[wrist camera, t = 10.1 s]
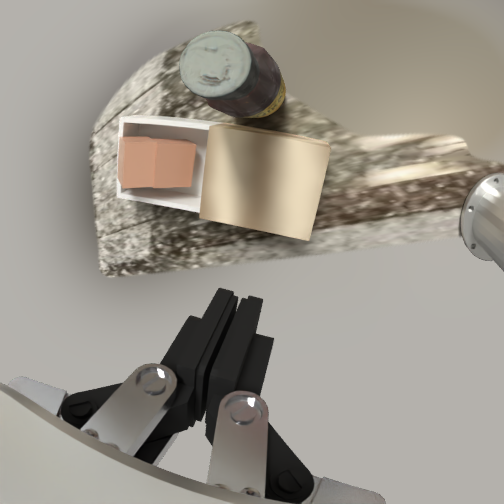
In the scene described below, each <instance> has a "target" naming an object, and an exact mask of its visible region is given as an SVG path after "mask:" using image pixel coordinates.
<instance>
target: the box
mask: <svg viewBox="0 0 504 504" xmlns="http://www.w3.org/2000/svg"><path fill="white" fill-rule="evenodd" d="M221 123H222V122H214V121H206V120H198V119H188V118H178V117H166V116H152V115H132V116H125V117H120V122H119V137H132V136H148V137H150V138H151V139H187V140H189V141H191V142H192V143H194V144H196V152H195V160H194V167H193V175H192V183H191V187H172V188H153V187H140V188H122V186H121V184H120V182H119V180H118V178H117V198H123V199H129V200H134V201H140V202H145V203H151V204H156V205H162V206H167V207H172V208H177V209H183V210H188V211H193V212H198V213H200V203H201V193H202V184H203V175H204V166H205V157H206V149H207V141H208V133H209V126H212V125H216V124H221ZM119 137H118V152H119ZM117 172H118V158H117Z"/></svg>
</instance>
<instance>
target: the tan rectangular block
mask: <svg viewBox="0 0 504 504" xmlns="http://www.w3.org/2000/svg"><path fill="white" fill-rule="evenodd" d="M330 151H331V147H330V146H329V144H328V143H327V142H325V141H321V140H317V139H312V138H308V137H303V136H298V135H293V134H288V133H283V132H278V131H273V130H267V129H261V128H256V127H249V126H243V125H236V124H229V123H221V124H216V125H212V126H209V133H208V141H207V149H206V157H205V166H204V175H203V184H202V193H201V203H200V214H199V218H201V219H206V220H211V221H216V222H221V223H226V224H231V225H236V226H240V227H245V228H250V229H255V230H260V231H264V232H269V233H274V234H278V235H283V236H288V237H292V238H297V239H302V240H306V241H309V239H310V235H311V231H312V227H313V224H314V220H315V216H316V211H317V207H318V203H319V199H320V195H321V191H322V187H323V182H324V178H325V174H326V169H327V165H328V160H329V156H330Z"/></svg>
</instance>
